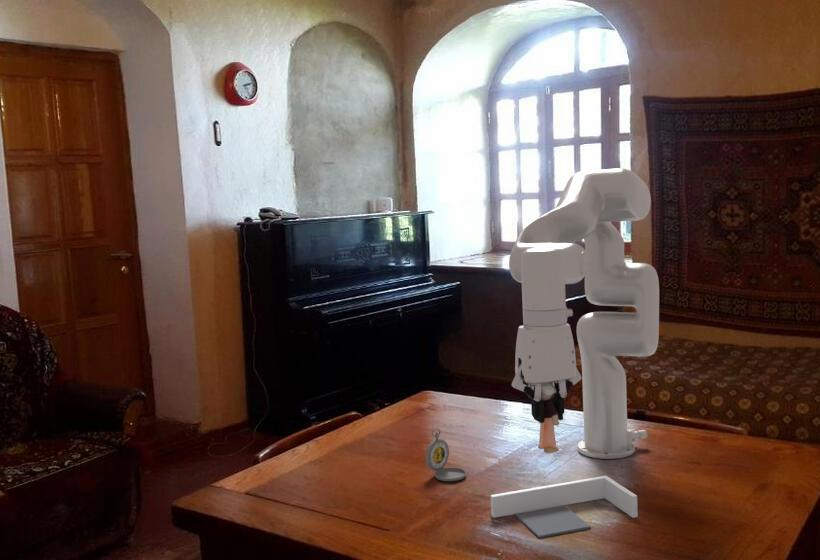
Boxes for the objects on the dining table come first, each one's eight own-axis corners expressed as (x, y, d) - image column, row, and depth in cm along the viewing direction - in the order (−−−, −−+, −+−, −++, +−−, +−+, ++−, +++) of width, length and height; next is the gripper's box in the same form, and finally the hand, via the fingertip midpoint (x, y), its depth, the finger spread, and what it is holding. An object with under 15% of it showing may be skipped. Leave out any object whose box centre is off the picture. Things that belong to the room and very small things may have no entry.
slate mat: (564, 507, 151) (564, 505, 151) (590, 528, 142) (590, 526, 142) (515, 516, 149) (515, 514, 148) (538, 538, 139) (538, 535, 139)
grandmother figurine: (528, 447, 147) (523, 379, 145) (546, 442, 148) (541, 375, 147) (552, 457, 140) (547, 386, 138) (571, 453, 141) (566, 382, 140)
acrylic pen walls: (606, 495, 156) (606, 475, 155) (637, 516, 145) (637, 495, 145) (491, 515, 149) (490, 495, 149) (515, 539, 139) (514, 517, 138)
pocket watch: (464, 483, 166) (461, 436, 165) (424, 482, 168) (421, 436, 167) (469, 469, 174) (466, 424, 173) (431, 468, 176) (428, 424, 175)
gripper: (576, 310, 147) (579, 408, 149) (493, 319, 142) (497, 420, 145) (596, 316, 140) (599, 419, 142) (509, 325, 135) (514, 431, 137)
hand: (548, 418), depth 143 cm, fingers closed on grandmother figurine, 3 cm apart
